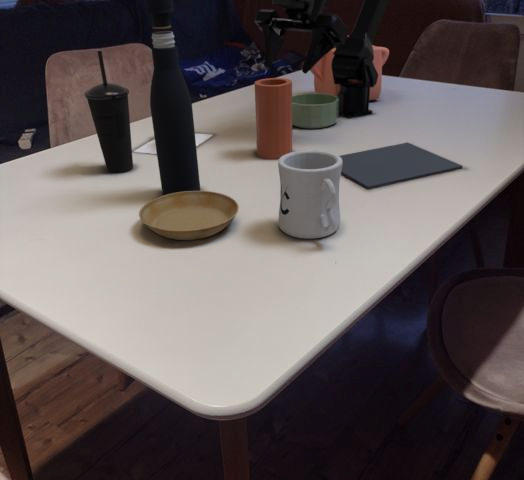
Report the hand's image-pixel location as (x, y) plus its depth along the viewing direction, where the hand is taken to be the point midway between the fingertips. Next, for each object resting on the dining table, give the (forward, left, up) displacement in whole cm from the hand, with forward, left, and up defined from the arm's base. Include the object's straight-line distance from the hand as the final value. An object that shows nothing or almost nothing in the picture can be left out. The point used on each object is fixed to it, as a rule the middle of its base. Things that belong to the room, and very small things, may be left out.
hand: (284, 70), depth 113 cm
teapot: (-29, -22, -14) cm, 39 cm away
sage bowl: (-11, -9, -13) cm, 20 cm away
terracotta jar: (+6, +6, -13) cm, 16 cm away
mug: (+17, +41, -14) cm, 46 cm away
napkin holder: (+21, -11, -14) cm, 27 cm away
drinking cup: (+35, -1, -14) cm, 37 cm away
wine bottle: (+29, +17, -14) cm, 36 cm away
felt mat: (-9, +23, -13) cm, 28 cm away
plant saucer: (+32, +30, -14) cm, 46 cm away
